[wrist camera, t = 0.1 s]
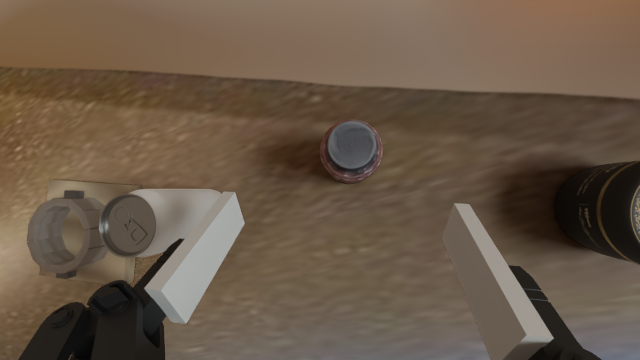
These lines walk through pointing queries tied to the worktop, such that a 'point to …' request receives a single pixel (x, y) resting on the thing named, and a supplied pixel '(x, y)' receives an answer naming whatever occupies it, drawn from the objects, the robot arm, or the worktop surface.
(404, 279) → the worktop surface
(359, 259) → the worktop surface
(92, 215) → the grey ring holder base
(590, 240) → the jar
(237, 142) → the worktop surface
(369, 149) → the supplement bottle
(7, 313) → the worktop surface
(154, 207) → the can
